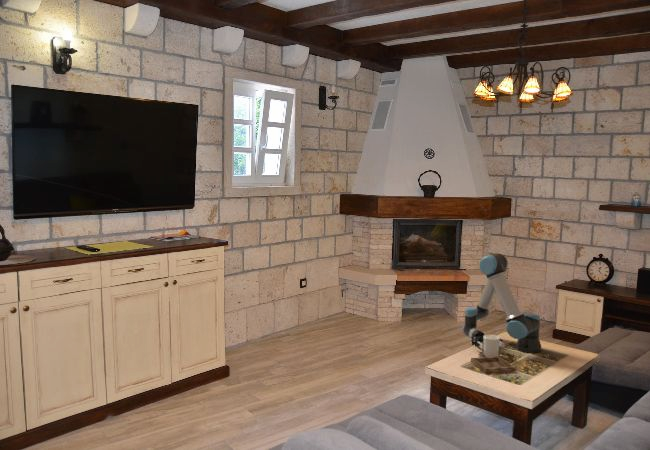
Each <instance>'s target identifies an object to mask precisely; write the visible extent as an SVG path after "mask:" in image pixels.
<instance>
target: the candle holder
mask: <svg viewBox="0 0 650 450" xmlns="http://www.w3.org/2000/svg"><path fill="white" fill-rule="evenodd" d="M500 339H501V337H500V336H499V335H496V334H485V335H484V336H483V342H482V343H483V357H495V356H499V353H500V352H499V351H500V346H499V343H500Z"/></svg>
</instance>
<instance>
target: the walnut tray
mask: <svg viewBox="0 0 650 450" xmlns="http://www.w3.org/2000/svg"><path fill="white" fill-rule="evenodd" d="M470 363H471V364H472V365H473V366H475V367H476V368H478V369H479V370H480V371H482V372H483V373H484V374H486V375H487V374H498V373H499V374H500V373H502V374H503V373H513V372H516V366H514V365H513V364H511V363H509V362H508V361H507V360H506V359H504V358H503V357H501V356H499V355H498V356H495V357H485V356H481V357H479V356H478V357H471V358H470Z"/></svg>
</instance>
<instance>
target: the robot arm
mask: <svg viewBox="0 0 650 450" xmlns="http://www.w3.org/2000/svg"><path fill="white" fill-rule="evenodd" d="M508 264H509V262H508V259H507V257H506V256H505V255H504V254H502V253H494V254H488V255H485V256H483V257H482V258H481V259H480V260H479V263H478V266H479V267H478V268H479V270H480V272H481V273H482V274H483V275H485V276H486V278H487V280H486V283H485V286H484V288H483V291H482V293H481V296H480V298H479V301H478V303H477V305H476V307H474V306H473V307H472V306H467V307H466V308H465V313H464V324H463V326H462V328H461V330H462V333H463V334H464V335H465V336H466V337H468V338H469V339H470V341H471V346H474V347H479V348H480V349H481V350H484V342H483V336H484V335H486V334H485V333H484V332H483V331H481V330H480V329H478V327H477V325H478V321H479V320H482V319H485V318H487V317H488V316H489V315H490V306H491V304H492V302H493V299H494V297H495V294H497V298H498V299H499V301H500V304H501V306H502V308H503V311H504V313H505V315H506V318H505V321H506V332H507V334H508V335H509V336H510V337H511V338H513V339H515V340H517V341H516V343H515V348H516V349H517V350H518V351H520V352H524V353H530V354H537V353H540V352H542V344H541V341H540V326H541V325H540V322H541V317H540V315H539V314H537V313H532V312H522V311H521V310H520V308H519V305H518V304H517V301H516V299H515V297H514V294H513V292H512V290H511V288H510V286H509V283H508V281H507V279H506V276H505V274H506V272H507V268H508V266H509V265H508ZM499 347H501V348H503V349H505V343H504V342H503V339H501V338H500V343H499Z"/></svg>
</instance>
